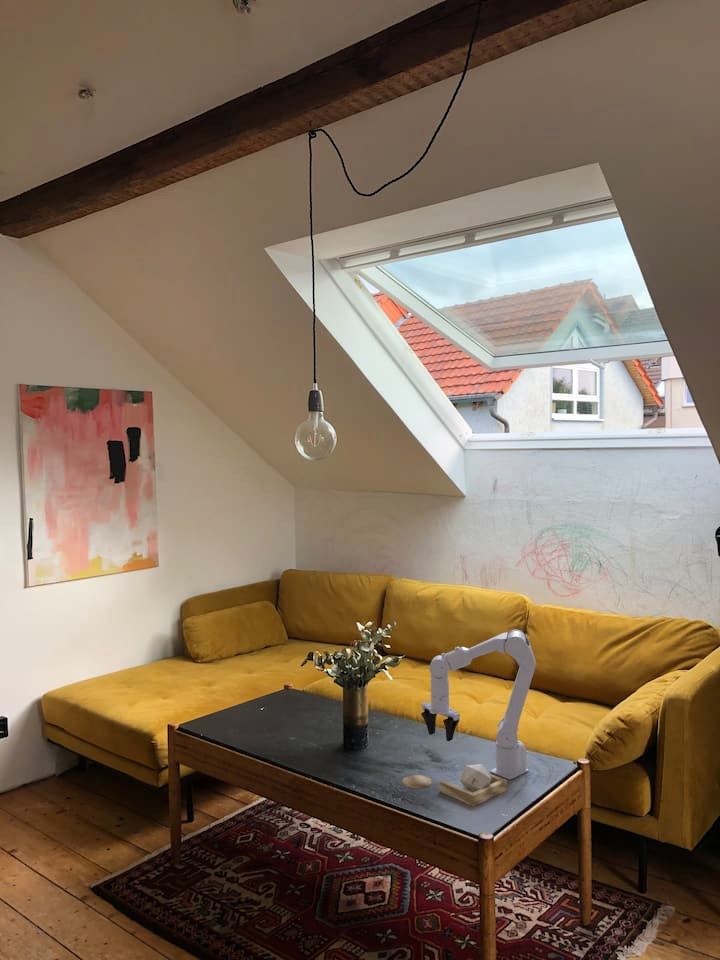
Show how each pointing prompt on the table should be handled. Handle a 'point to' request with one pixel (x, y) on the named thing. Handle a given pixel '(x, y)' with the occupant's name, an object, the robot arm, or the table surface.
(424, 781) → the coaster
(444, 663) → the robot arm
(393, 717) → the table surface
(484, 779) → the die
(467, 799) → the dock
